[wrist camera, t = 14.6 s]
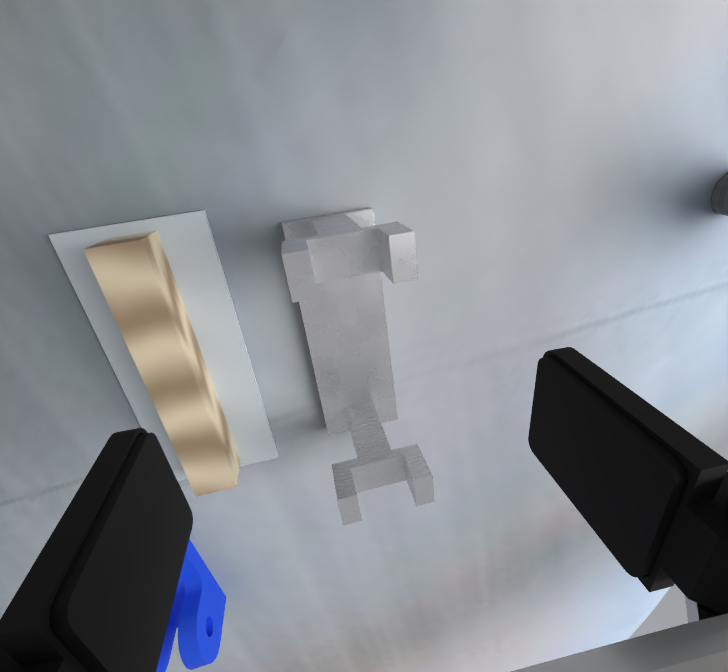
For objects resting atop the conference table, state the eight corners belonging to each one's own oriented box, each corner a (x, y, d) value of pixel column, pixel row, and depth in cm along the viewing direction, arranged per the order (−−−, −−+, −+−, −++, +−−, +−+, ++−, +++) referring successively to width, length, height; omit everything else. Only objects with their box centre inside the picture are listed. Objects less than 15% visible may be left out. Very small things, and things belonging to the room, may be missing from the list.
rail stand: (281, 222, 34) (281, 254, 22) (370, 207, 35) (414, 231, 23) (327, 428, 44) (343, 525, 32) (394, 412, 45) (434, 501, 33)
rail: (105, 239, 31) (83, 249, 28) (156, 230, 32) (140, 239, 28) (203, 467, 42) (196, 496, 38) (240, 459, 43) (236, 486, 39)
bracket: (226, 596, 52) (215, 675, 44) (164, 616, 52) (143, 700, 44) (169, 506, 44) (144, 582, 36) (96, 528, 44) (53, 611, 36)
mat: (52, 233, 31) (48, 235, 30) (204, 209, 32) (203, 210, 32) (170, 479, 43) (168, 483, 42) (278, 454, 44) (278, 457, 43)
